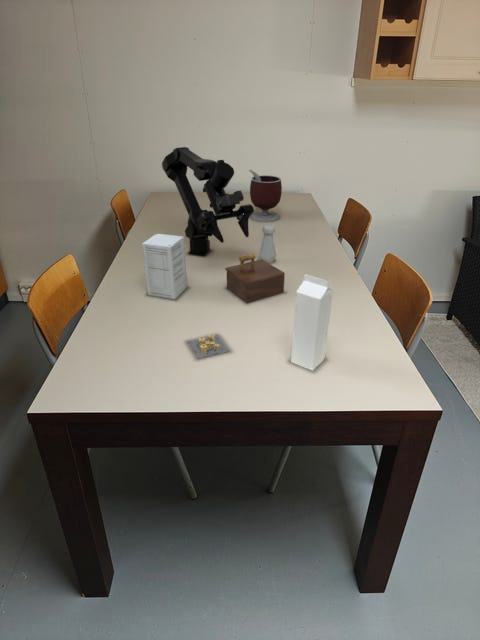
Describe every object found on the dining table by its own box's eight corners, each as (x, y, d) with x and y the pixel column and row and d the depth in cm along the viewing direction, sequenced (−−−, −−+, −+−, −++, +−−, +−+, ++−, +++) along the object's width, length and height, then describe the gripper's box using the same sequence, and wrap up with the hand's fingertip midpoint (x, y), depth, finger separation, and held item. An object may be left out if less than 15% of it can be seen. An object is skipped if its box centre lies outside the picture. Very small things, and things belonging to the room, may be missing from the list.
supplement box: (188, 287, 144) (185, 236, 136) (175, 300, 137) (171, 247, 128) (161, 282, 147) (156, 232, 139) (146, 295, 139) (141, 242, 131)
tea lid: (225, 269, 142) (225, 257, 139) (261, 261, 148) (261, 249, 146) (246, 284, 132) (247, 271, 130) (284, 274, 139) (285, 262, 137)
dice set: (201, 354, 112) (201, 348, 111) (195, 344, 116) (194, 337, 115) (221, 350, 114) (221, 343, 113) (213, 340, 118) (213, 333, 117)
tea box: (226, 288, 144) (226, 270, 141) (262, 279, 150) (262, 262, 147) (246, 303, 135) (246, 285, 132) (283, 292, 142) (284, 274, 139)
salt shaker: (274, 265, 160) (276, 229, 154) (258, 263, 161) (259, 228, 155) (276, 258, 165) (278, 223, 159) (260, 257, 166) (261, 222, 160)
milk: (303, 351, 114) (310, 269, 103) (324, 359, 111) (335, 276, 100) (290, 362, 110) (297, 278, 99) (312, 371, 107) (322, 285, 96)
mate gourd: (285, 216, 209) (288, 170, 199) (270, 224, 199) (272, 177, 189) (256, 210, 216) (257, 166, 206) (240, 217, 206) (241, 172, 196)
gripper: (199, 186, 136) (218, 232, 133) (251, 178, 145) (270, 222, 142) (188, 205, 146) (206, 249, 143) (238, 197, 154) (256, 238, 152)
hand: (235, 239), depth 145 cm, fingers open, 9 cm apart
